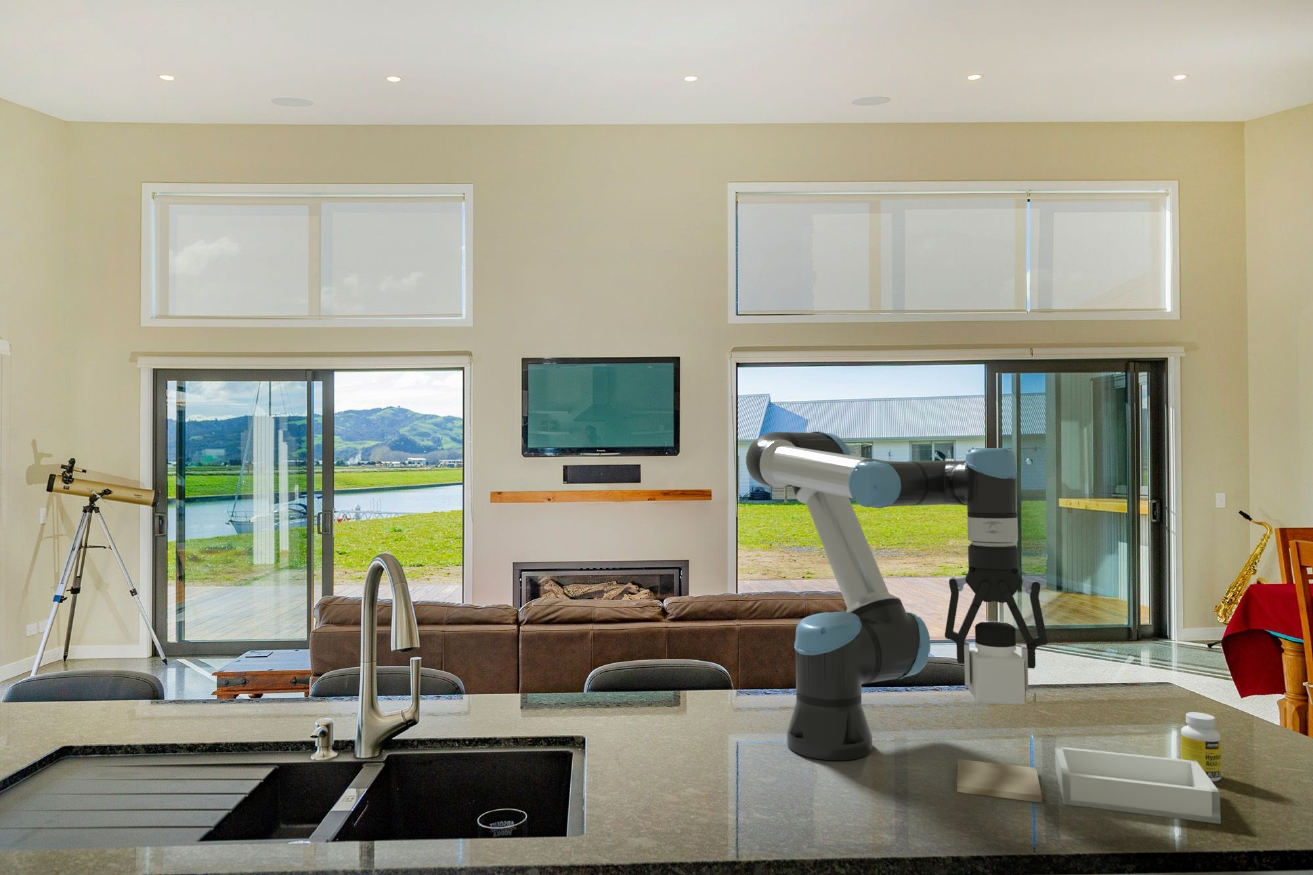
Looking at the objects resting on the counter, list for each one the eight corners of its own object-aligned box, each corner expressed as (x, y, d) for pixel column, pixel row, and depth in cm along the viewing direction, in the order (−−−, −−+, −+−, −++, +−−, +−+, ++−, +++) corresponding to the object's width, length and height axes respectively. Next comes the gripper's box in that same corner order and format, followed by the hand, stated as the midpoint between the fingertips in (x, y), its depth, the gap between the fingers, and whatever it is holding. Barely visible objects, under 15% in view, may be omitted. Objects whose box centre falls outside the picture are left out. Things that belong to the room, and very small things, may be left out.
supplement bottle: (1209, 785, 130) (1207, 722, 131) (1174, 773, 135) (1172, 713, 135) (1228, 778, 133) (1227, 717, 133) (1193, 767, 138) (1192, 708, 138)
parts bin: (1063, 803, 124) (1062, 774, 124) (1055, 773, 136) (1054, 746, 136) (1220, 823, 117) (1219, 792, 117) (1197, 789, 129) (1196, 760, 129)
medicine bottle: (1026, 705, 128) (1024, 627, 128) (978, 703, 129) (976, 626, 130) (1013, 692, 135) (1012, 619, 136) (968, 691, 136) (966, 618, 137)
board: (957, 791, 129) (957, 785, 129) (958, 765, 140) (958, 759, 140) (1041, 802, 124) (1041, 795, 124) (1036, 774, 136) (1036, 767, 136)
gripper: (924, 544, 133) (927, 686, 133) (1066, 547, 126) (1070, 698, 125) (926, 540, 140) (929, 675, 140) (1061, 543, 133) (1065, 685, 132)
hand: (996, 685), depth 132 cm, fingers closed on medicine bottle, 8 cm apart
